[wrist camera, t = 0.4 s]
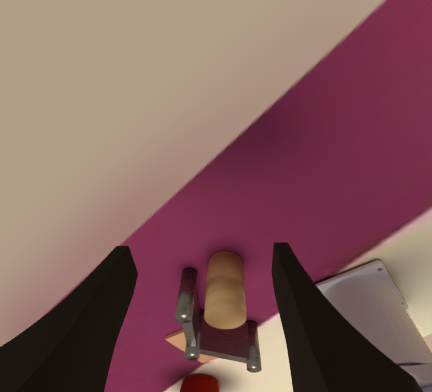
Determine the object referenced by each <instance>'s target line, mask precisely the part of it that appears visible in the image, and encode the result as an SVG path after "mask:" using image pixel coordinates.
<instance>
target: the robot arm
mask: <svg viewBox="0 0 432 392" xmlns="http://www.w3.org/2000/svg"><path fill="white" fill-rule="evenodd" d="M137 275H138V272H137V269H136V267H135V264H134V261H133V258H132V255H131V252H130V249H129V246H116V247H115V249H114V250H113V251H112V252H111V253H110V254H109V255H108V256H107V257H106V258H105V259H104V260H103V261H102V262H101V263H100V264H99V265H98V267H97V268H96V269H95V270H94V271H93V272H92V273H91V274H90V275H89V276H88V277H87V278H86V279H85V280H84V281H83V282H82V283H81V284H80V285H79V286H78V287H77V288H76V289H75V290H74V291H73V292H72V293H71V294H69V295H68V296H67V297H66V298H65V299H64V300H63V301H62V302H61V303H59V304H58V305H57V306H56V307H55V308H53V309H52V310H51V311H50V312H49V313H47V314H46V315H45V316H44V317H42V318H41V319H40V320H38V321H37V322H36V323H34V324H33V325H32V326H30V327H29V328H28V329H26V330H25V331H23V332H22V333H21V334H19V335H18V336H17V337H15V338H14V339H12V340H11V341H9V342H7V343H6V344H4V345H3V346H1V347H0V392H104V388H105V384H106V380H107V376H108V371H109V367H110V363H111V359H112V355H113V351H114V348H115V344H116V341H117V338H118V335H119V332H120V329H121V327H122V324H123V321H124V318H125V316H126V313H127V310H128V307H129V304H130V302H131V299H132V296H133V293H134V289H135V285H136V280H137ZM272 278H273V286H274V292H275V297H276V301H277V305H278V309H279V314H280V318H281V322H282V326H283V330H284V334H285V339H286V344H287V350H288V357H289V363H290V370H291V377H292V385H293V392H432V353H431V351H430V349H429V348H428V346H427V345H426V343H425V341H424V339H423V338H422V336H421V334H420V333H419V331H418V329H417V328H416V326H415V324H414V323H413V321H412V320H411V318H410V316H409V315H408V313H407V311H406V309H407V308H408V306H407V304H406V302H405V301H404V299H403V297H402V296H401V294H400V292H399V290H398V289H397V287H396V285H395V284H394V282H393V280H392V279H391V277H390V275H389V273H388V272H387V270H386V268H385V267H384V265H383V263H382V262H381V261H374V262H371V263H369V264H366V265H363V266H361V267H358V268H356V269H353V270H351V271H348V272H345V273H343V274H340V275H338V276H335V277H333V278H330V279H328V280H325V281H322V282H320V283H317V284H315V283H314V282H313V281H312V279H311V278H310V277H309V275H308V274H307V272H306V271H305V270H304V268H303V267H302V265H301V264H300V262H299V261H298V259H297V258H296V256H295V254H294V253H293V251H292V249H291V247H290V246H289V244H288V243H274V248H273V261H272Z"/></svg>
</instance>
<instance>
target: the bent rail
mask: <svg viewBox="0 0 432 392" xmlns="http://www.w3.org/2000/svg"><path fill="white" fill-rule="evenodd" d="M196 280H197V271H196V270H195V269H193V268H186V269H184V270H183V271H182V277H181V283H180V289H179V295H178V301H177V307H176V313H175V320H176V321H177V322H179V323H182V326H183V330H184V335H185V339H186V348H185V358H186V359H188V360H198V359H199V357H200V354H203V355H208V356H213V357H218V358H223V359H228V360H233V361H238V362H243V363H247V370H248V371H249V372H259V371H261V359H260V350H259V340H258V330H257V323H256V322H255V321H245V323H244V324H242V325H241V326H239V327H237V328H233V329H219V328H215V327H213V326H211V325H209V324H208V323H207V322H206V321H205V319H204V313H205V311H202V310H201V309H200V306H199V299H198V293H197V286H196Z"/></svg>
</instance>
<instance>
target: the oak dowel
mask: <svg viewBox="0 0 432 392" xmlns="http://www.w3.org/2000/svg"><path fill="white" fill-rule="evenodd" d="M204 319H205V321H206V322H207V323H208V324H209V325H211V326H213V327H215V328H219V329H233V328H237V327H239V326H241V325H242V324H244V323H245V321H246V303H245V288H244V273H243V261H242V259H241V257H240V256H239V255H237V254H236V253H234V252H230V251H220V252H217V253H215V254H213V255H212V256H211V257H210V258H209V260H208V271H207V285H206V299H205V313H204Z"/></svg>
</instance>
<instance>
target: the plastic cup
mask: <svg viewBox="0 0 432 392" xmlns="http://www.w3.org/2000/svg"><path fill="white" fill-rule="evenodd" d="M180 392H219V386H218V381H217V380H216V379H215V378H213V377H212V376H208V375H204V374H194V375H190V376H187V377H186V378H185V379H184V380H183V383H182V385H181V389H180Z"/></svg>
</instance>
